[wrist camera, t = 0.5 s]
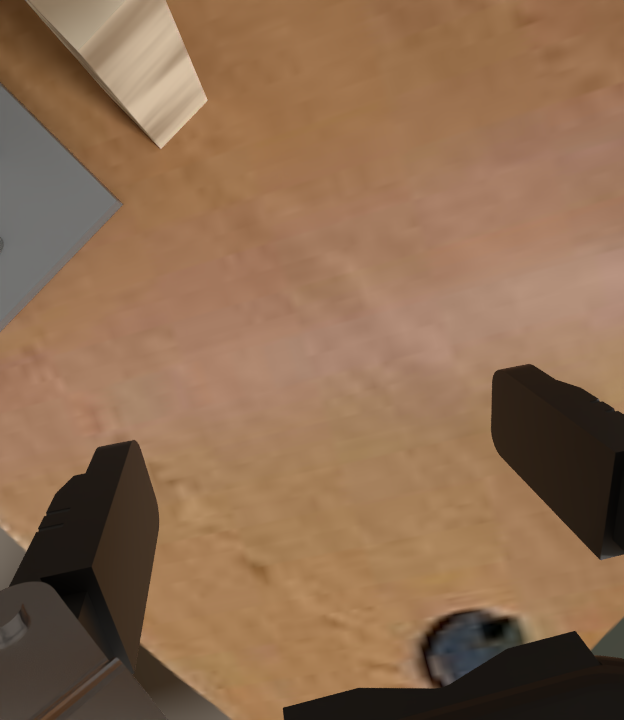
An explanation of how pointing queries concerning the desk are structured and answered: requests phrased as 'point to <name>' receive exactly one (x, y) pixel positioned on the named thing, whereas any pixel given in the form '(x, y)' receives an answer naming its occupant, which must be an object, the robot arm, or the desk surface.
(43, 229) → the slate base plate
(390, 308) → the desk surface
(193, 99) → the birch post
